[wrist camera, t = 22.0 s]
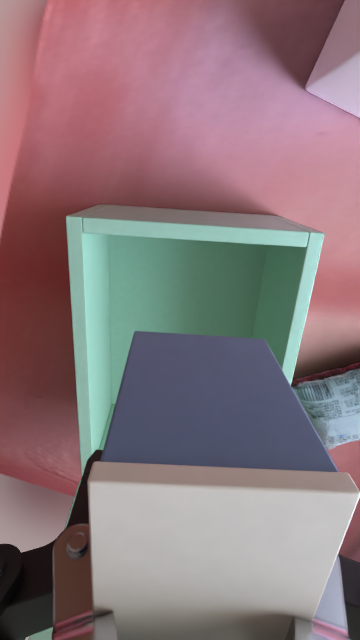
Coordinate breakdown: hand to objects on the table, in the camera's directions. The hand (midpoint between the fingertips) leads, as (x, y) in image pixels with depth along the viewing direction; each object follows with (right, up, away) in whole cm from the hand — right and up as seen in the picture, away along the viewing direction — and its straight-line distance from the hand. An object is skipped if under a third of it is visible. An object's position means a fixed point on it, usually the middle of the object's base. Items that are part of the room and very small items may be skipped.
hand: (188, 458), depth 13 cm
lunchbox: (0, +5, +19) cm, 19 cm away
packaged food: (+16, -2, +22) cm, 28 cm away
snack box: (0, 0, +1) cm, 1 cm away
